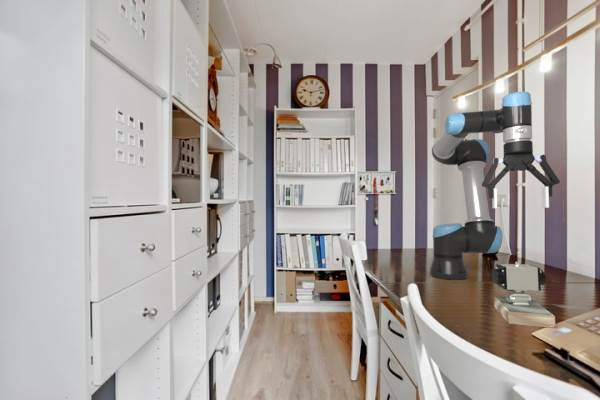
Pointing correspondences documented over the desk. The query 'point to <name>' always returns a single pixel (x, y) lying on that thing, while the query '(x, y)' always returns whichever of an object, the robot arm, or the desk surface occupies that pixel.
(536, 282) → the pneumatic valve
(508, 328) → the desk surface
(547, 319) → the book
